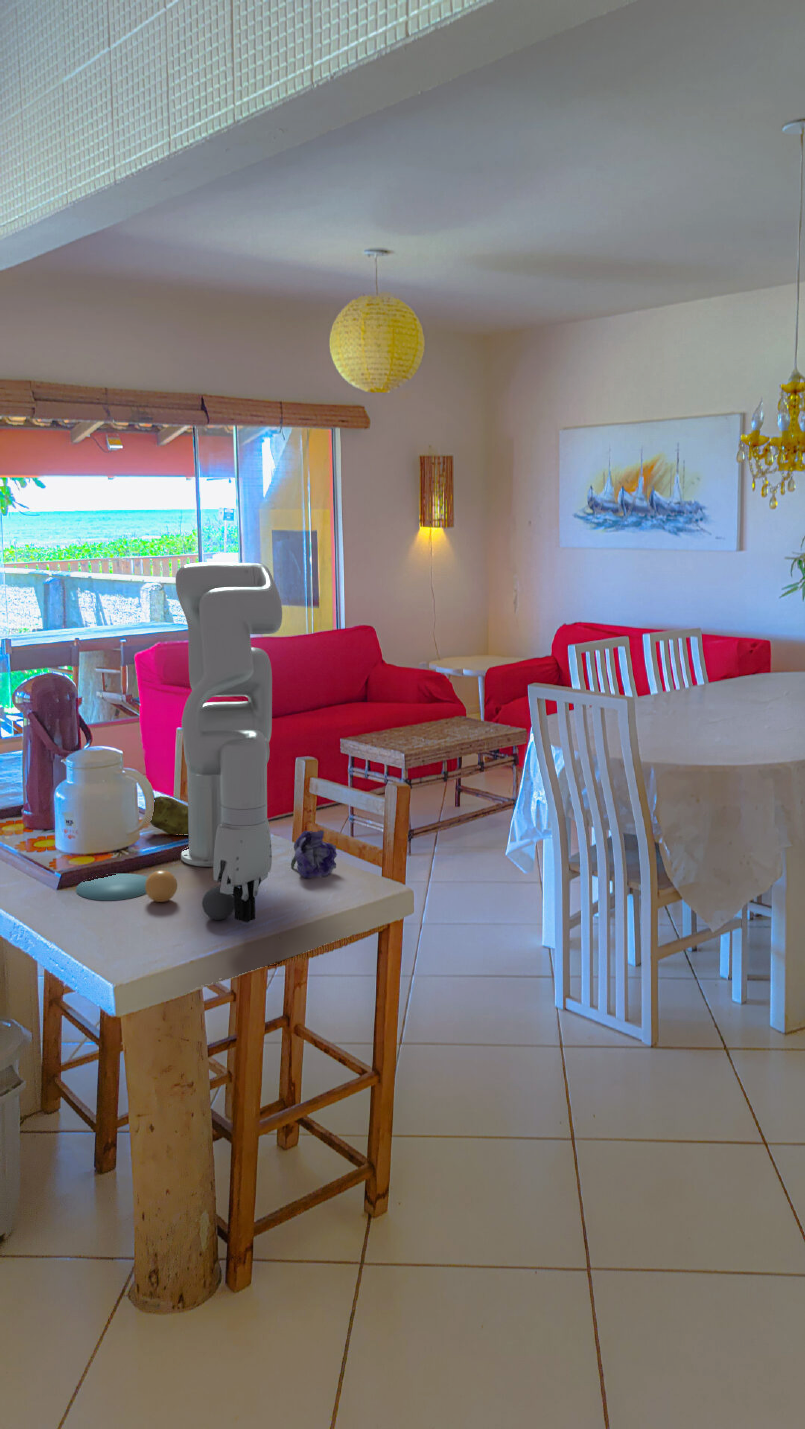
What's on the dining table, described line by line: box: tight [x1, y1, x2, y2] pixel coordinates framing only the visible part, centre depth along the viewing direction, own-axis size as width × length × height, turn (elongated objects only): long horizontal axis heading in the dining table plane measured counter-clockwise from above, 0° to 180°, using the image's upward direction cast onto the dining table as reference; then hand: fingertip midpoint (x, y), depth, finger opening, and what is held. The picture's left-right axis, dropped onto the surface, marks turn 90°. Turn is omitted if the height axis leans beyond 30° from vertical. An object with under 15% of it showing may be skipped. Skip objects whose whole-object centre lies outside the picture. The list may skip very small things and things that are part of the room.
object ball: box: [145, 869, 178, 903], centre depth 190 cm, size 6×6×6 cm
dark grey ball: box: [201, 886, 234, 921], centre depth 183 cm, size 6×6×6 cm
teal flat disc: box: [75, 873, 149, 902], centre depth 197 cm, size 14×14×1 cm
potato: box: [149, 795, 188, 835], centre depth 230 cm, size 8×13×8 cm, turn 71°
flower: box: [290, 830, 338, 879], centre depth 206 cm, size 9×9×10 cm
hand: (244, 919), depth 180 cm, fingers closed
